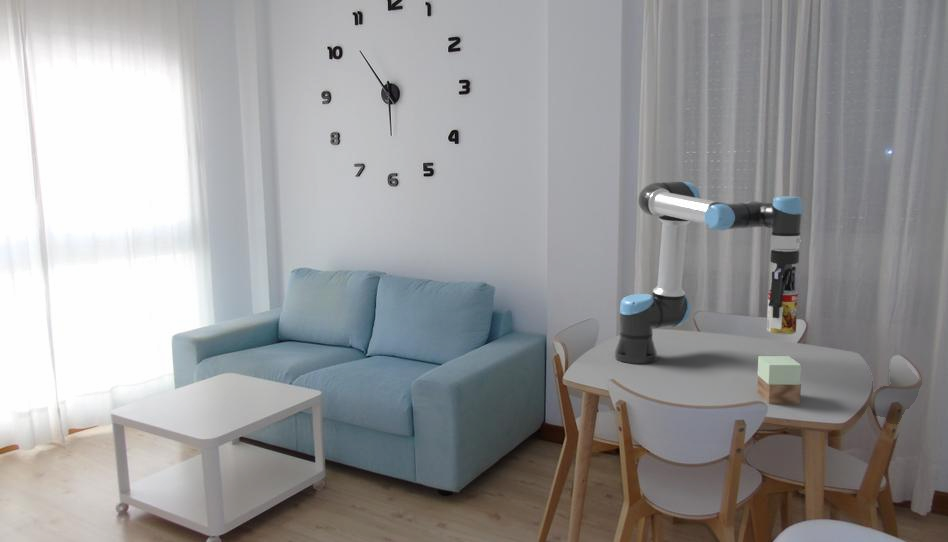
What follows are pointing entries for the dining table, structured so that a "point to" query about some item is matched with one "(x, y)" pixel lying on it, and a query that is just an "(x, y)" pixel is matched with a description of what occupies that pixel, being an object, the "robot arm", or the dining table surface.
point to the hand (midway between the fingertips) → (781, 325)
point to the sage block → (779, 370)
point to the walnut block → (779, 393)
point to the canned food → (785, 313)
